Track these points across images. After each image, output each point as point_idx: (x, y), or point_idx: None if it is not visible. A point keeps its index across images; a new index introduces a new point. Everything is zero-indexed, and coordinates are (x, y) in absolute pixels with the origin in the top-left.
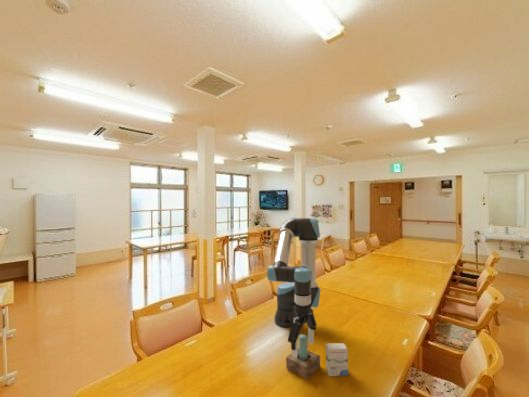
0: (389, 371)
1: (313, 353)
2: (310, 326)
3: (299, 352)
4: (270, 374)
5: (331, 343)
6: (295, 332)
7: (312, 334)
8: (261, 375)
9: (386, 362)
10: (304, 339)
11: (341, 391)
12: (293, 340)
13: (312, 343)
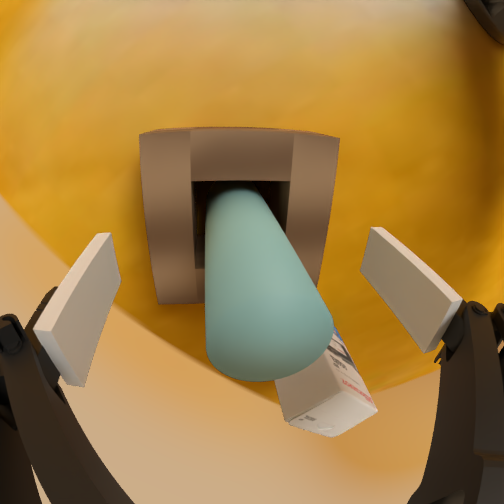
0: (372, 384)
1: (315, 259)
2: (452, 365)
3: (208, 231)
4: (61, 109)
5: (355, 399)
6: (27, 492)
7: (404, 318)
8: (33, 88)
9: (404, 366)
10: (231, 373)
11: (213, 368)
12: (11, 411)
13: (364, 268)
